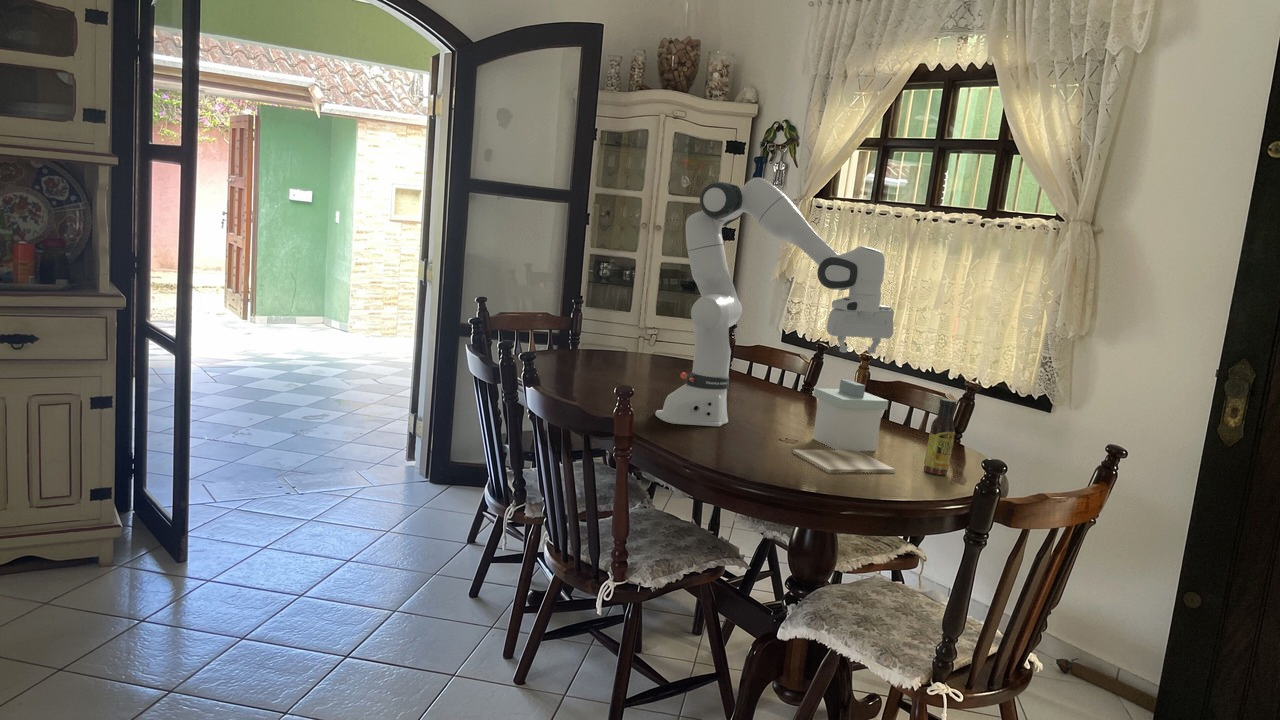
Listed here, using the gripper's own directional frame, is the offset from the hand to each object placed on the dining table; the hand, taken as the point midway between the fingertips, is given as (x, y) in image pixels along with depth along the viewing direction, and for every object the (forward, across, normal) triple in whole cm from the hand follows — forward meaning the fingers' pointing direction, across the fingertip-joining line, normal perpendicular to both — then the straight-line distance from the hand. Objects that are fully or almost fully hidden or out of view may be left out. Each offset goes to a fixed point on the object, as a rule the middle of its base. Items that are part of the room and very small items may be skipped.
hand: (857, 352), depth 242 cm
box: (+27, 0, 0) cm, 27 cm away
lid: (+15, 0, 0) cm, 15 cm away
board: (+27, +12, +18) cm, 35 cm away
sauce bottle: (+28, -11, +27) cm, 40 cm away
